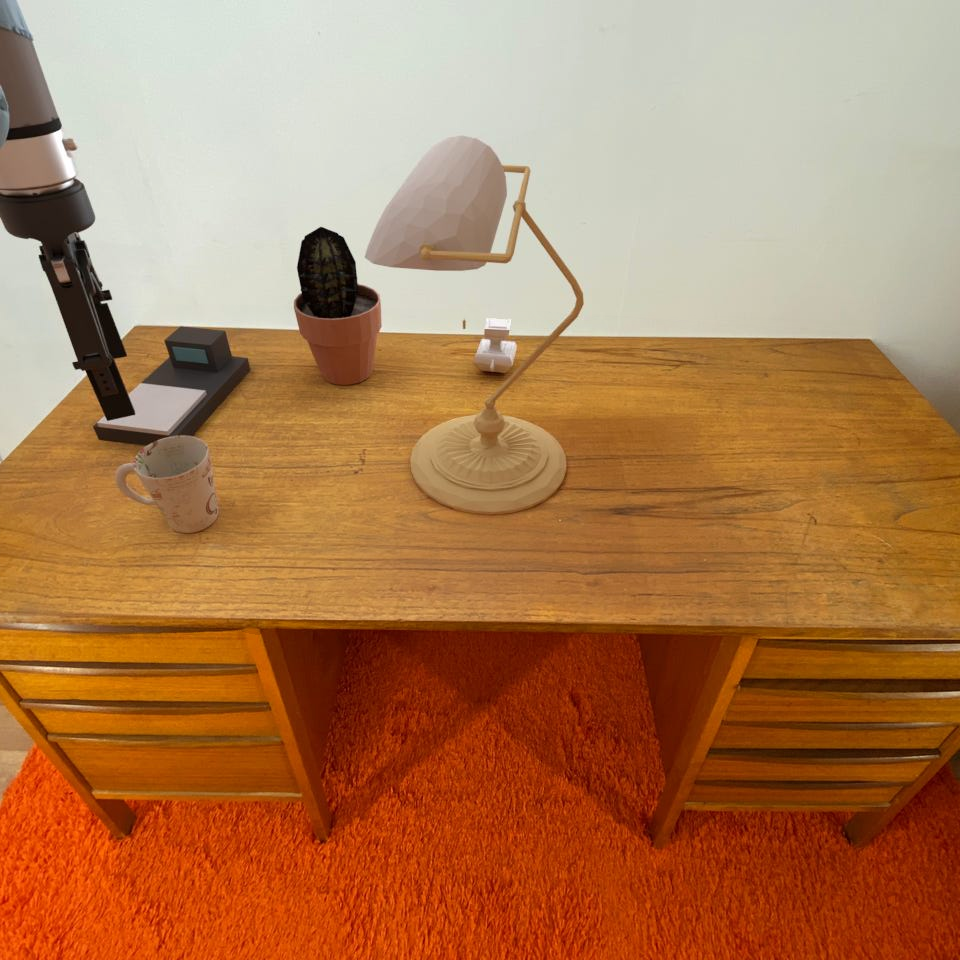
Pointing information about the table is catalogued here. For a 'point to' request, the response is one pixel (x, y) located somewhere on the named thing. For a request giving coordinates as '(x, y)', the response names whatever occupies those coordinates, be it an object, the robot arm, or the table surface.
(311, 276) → the potted plant
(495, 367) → the stamp
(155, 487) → the mug
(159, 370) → the scale
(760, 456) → the table surface
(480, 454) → the desk lamp
